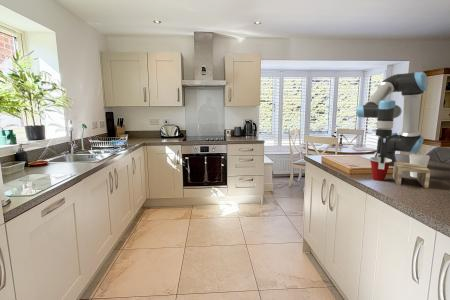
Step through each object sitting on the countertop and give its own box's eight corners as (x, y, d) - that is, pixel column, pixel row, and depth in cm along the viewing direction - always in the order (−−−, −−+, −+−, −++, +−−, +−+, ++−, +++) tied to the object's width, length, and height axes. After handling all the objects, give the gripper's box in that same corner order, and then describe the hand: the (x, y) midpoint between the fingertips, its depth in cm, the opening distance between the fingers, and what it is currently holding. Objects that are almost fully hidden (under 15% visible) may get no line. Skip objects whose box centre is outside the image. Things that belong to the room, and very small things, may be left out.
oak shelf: (392, 176, 146) (394, 161, 145) (419, 179, 140) (421, 164, 139) (397, 184, 130) (399, 167, 129) (428, 187, 125) (430, 170, 123)
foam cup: (426, 179, 141) (430, 157, 139) (406, 176, 146) (409, 155, 144) (426, 176, 148) (429, 155, 146) (407, 173, 154) (409, 153, 152)
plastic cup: (368, 180, 137) (370, 159, 135) (366, 176, 147) (368, 156, 145) (391, 183, 133) (394, 161, 131) (388, 178, 142) (390, 158, 141)
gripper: (374, 127, 148) (370, 162, 151) (378, 129, 126) (373, 170, 129) (389, 128, 144) (385, 163, 147) (395, 130, 122) (390, 172, 125)
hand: (379, 166), depth 138 cm, fingers open, 13 cm apart
